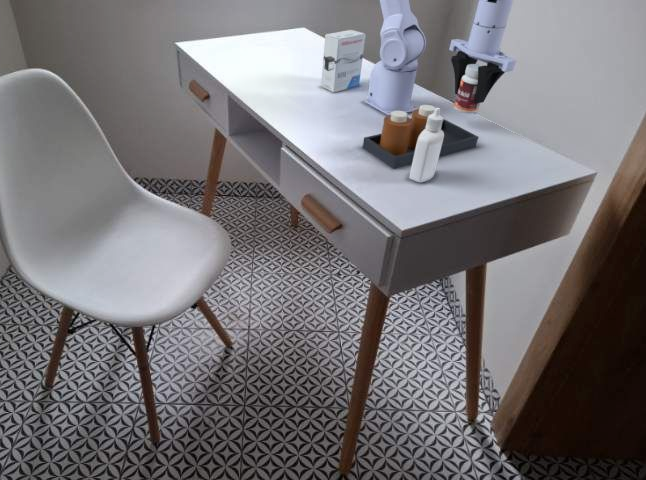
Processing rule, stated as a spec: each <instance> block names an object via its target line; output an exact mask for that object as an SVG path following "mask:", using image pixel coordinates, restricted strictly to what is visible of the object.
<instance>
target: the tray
mask: <svg viewBox="0 0 646 480" xmlns="http://www.w3.org/2000/svg"><path fill="white" fill-rule="evenodd" d="M441 130H442V131H443V132H444V138H443V143H442V147H441V151H440V155H439V157H442V156H447V155H451V154H454V153H458V152H462V151H466V150H470V149H473V148H476V146H477V143H478V141H479V136H478V135H476V134H474V133H472V132H470V131H468V130H467V129H464V128H463V127H460V126H458V125H457V124H455V123H453V122H451V121H449V120H448V119H444V118H443V122H442V126H441ZM381 134H382V133H378V134H373V135H370V136H365V137H363V142H362V149H363V150H365V151H366V152H367V153H369V154H371V155H372V156H374V157H375V158H377V159H378V160H380V161H381V162H383V163H384V164H386V165H387V166H389V167H390V168H392V169H397V168H401V167H405V166H409V165H412V162H413V157H414V153H415V149H412V148H410V147H407V151H406V154H402V155H398V156H395V155H394V154H392V153H391V152H389V151H387V150H386V149H384V148H383V147H381V146H380V140H381Z"/></svg>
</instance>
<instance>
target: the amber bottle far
mask: <svg viewBox="0 0 646 480" xmlns="http://www.w3.org/2000/svg"><path fill="white" fill-rule="evenodd" d="M412 123H413V121H412V120H411V117H408V113H406V112H404V111H393V112H392V113H391V115H386V116H384V118H383V123H382V129H381V133H380V134H381V140H380V146H381V147H383V148H384V149H386V150H387V151H389V152H391V153H392V154H394V155H395V156H398V155H402V154H406V151H407V147H408V142H409V137H410V132H411V127H412Z"/></svg>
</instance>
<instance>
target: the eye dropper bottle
mask: <svg viewBox="0 0 646 480" xmlns="http://www.w3.org/2000/svg"><path fill="white" fill-rule="evenodd" d="M443 120H444V117H443V116H442V115H441V108H440V107H435V111H434V113H433V114H431V115H429V116H428V119H427V123H426V129H424V130H423V131H422V132H421V134H420V135H419V137H418V140H417V144H416V148H415V153H414V157H413V162H412V164H411V167H410V171H409V176H408V177H409V179H410V180H411V181H414V182H416V183H419V184H420V183H425V182H428V181H429V180H432V179H433V177H434V176H435V173H436V170H437V166H438V161H439V159H440V156H439V155H440V151H441V147H442V143H443V138H444V132H443V131H442V130H441V126H442V122H443Z"/></svg>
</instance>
